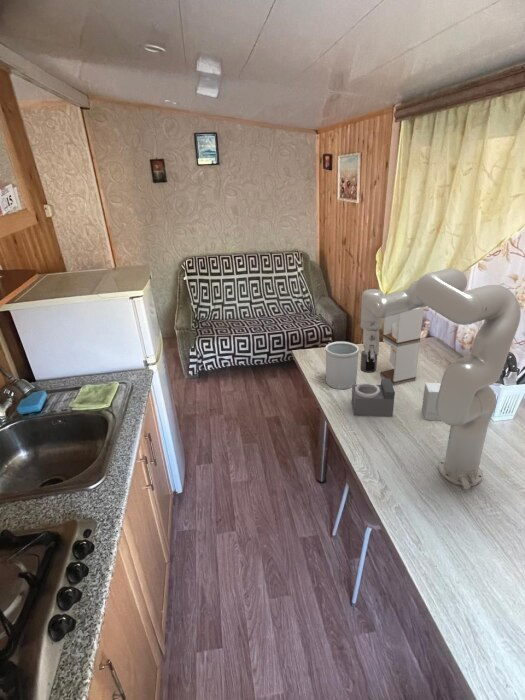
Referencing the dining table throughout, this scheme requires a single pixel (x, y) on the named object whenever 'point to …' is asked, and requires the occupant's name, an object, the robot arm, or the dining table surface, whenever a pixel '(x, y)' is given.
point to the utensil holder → (341, 364)
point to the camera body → (373, 399)
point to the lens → (363, 362)
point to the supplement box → (430, 401)
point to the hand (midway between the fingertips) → (368, 366)
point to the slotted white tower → (403, 345)
